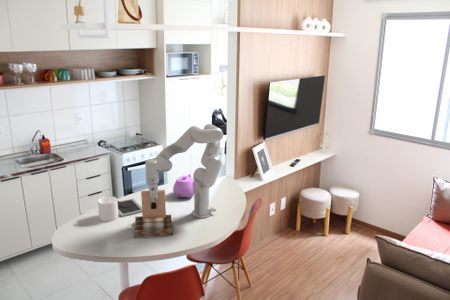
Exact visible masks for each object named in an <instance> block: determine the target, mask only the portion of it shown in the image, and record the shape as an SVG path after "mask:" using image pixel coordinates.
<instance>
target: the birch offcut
mask: <svg viewBox="0 0 450 300" xmlns="http://www.w3.org/2000/svg"><path fill="white" fill-rule="evenodd" d="M143 223H164V220H163V218H148V219H143Z"/></svg>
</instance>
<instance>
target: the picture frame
mask: <svg viewBox="0 0 450 300" xmlns="http://www.w3.org/2000/svg"><path fill="white" fill-rule="evenodd" d="M117 202H118V216H119V217H120V218H126V217H129V216H133V215H137V214H142V205H140V204H139V203H138V201H136V200H135V199H134V198H129V199H124V200H120V201H119V200H117Z"/></svg>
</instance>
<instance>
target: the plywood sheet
mask: <svg viewBox="0 0 450 300" xmlns="http://www.w3.org/2000/svg"><path fill="white" fill-rule="evenodd" d="M140 193H141V194H140V196H141V207H142V213H141V216H143V219H148V218H166V215H167V212H166V190H165V189H158V199H156V207H157V208H156V209H151V199H150V196H149V190H141V191H140Z"/></svg>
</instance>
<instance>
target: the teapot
mask: <svg viewBox="0 0 450 300" xmlns="http://www.w3.org/2000/svg"><path fill="white" fill-rule="evenodd" d="M172 192H173V194H174V195H175V196H176V198H177V199H179V198H186V199H187V200H189V199H191V197H194V179H193V177H192V174H190V173H189V174H188V175H181V176H179V177H178V178H176V180H175V182H174V184H173V188H172Z"/></svg>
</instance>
